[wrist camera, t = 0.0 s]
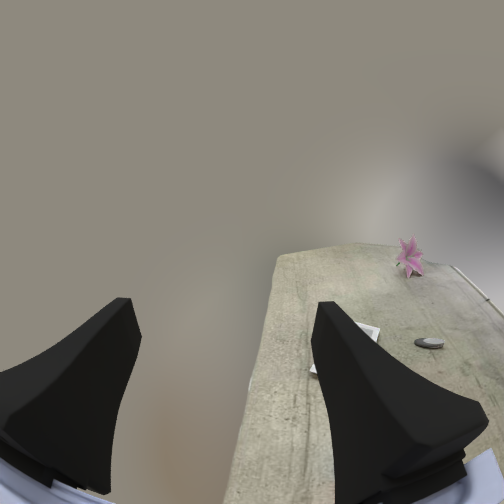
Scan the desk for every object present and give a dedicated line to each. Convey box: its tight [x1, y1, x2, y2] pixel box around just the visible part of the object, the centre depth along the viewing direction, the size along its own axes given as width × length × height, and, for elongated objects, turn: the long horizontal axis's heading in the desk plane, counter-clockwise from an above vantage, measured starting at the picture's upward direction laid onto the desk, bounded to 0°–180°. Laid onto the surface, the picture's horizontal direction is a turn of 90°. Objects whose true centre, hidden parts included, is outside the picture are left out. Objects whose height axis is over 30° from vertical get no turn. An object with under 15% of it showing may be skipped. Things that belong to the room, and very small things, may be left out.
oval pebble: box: [414, 338, 445, 348], centre depth 38 cm, size 6×2×1 cm, turn 65°
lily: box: [396, 234, 424, 278], centre depth 66 cm, size 12×12×10 cm
